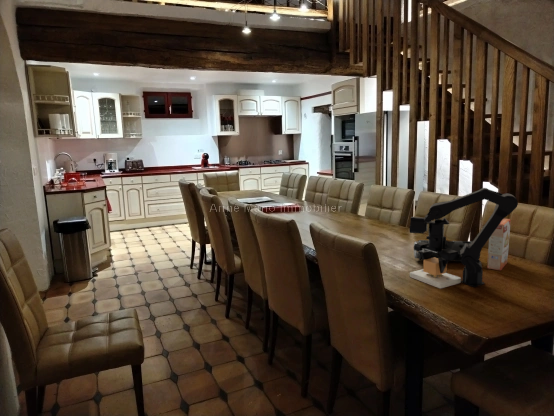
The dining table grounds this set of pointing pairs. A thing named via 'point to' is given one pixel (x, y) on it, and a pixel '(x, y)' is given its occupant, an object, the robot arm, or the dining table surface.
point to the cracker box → (499, 246)
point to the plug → (433, 267)
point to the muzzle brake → (456, 246)
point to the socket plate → (435, 279)
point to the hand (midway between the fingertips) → (435, 270)
